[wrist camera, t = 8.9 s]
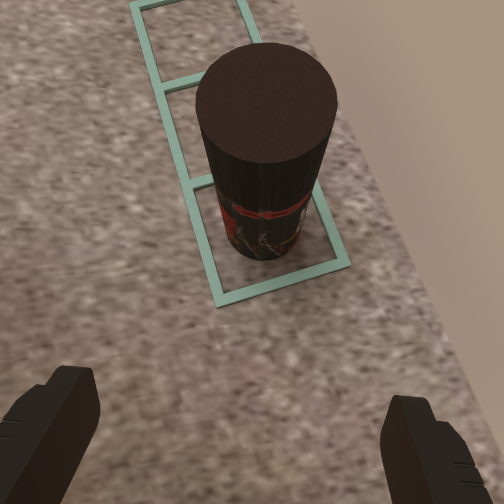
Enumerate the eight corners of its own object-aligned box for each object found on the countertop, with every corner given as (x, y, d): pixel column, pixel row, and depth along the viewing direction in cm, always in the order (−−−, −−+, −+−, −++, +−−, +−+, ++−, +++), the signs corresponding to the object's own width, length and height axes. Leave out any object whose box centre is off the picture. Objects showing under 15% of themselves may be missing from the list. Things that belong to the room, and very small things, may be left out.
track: (350, 266, 29) (351, 265, 29) (216, 308, 29) (216, 307, 28) (236, -21, 37) (235, -25, 37) (130, 6, 37) (128, 2, 36)
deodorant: (297, 264, 30) (333, 170, 15) (220, 256, 30) (184, 156, 15) (303, 193, 31) (341, 47, 17) (230, 186, 31) (206, 37, 17)
